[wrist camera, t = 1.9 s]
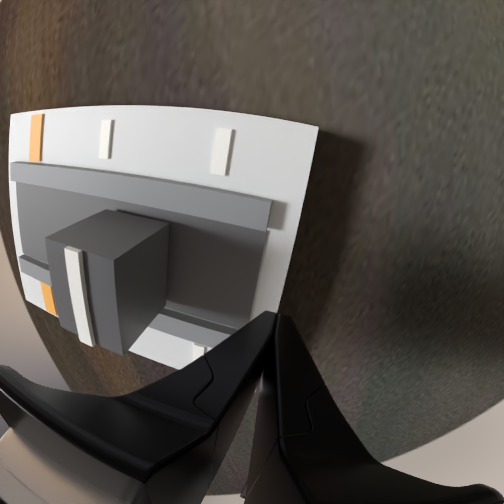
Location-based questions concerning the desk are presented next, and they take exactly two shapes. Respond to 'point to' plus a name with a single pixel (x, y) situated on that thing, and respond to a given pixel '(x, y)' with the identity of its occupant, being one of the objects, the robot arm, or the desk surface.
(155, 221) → the fader knob
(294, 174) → the console board
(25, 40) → the desk surface
